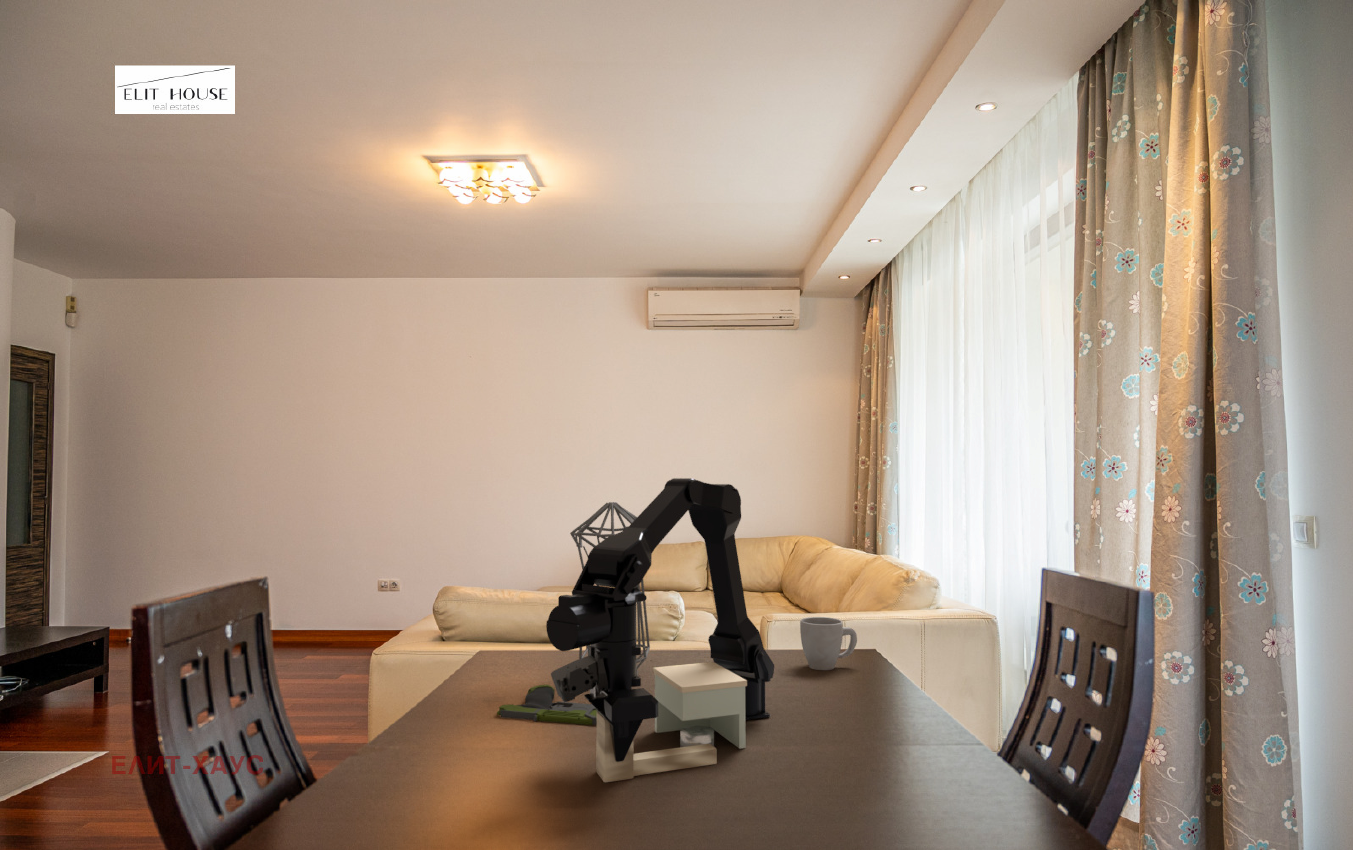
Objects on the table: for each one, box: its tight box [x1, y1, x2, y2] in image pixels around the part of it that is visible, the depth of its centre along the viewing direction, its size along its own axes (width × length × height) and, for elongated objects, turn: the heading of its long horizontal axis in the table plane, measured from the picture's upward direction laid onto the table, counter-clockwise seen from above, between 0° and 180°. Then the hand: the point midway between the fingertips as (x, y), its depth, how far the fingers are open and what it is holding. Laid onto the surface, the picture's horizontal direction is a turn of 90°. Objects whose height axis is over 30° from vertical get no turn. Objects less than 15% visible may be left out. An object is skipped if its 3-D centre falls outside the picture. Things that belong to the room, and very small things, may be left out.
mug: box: [799, 616, 858, 671], centre depth 163 cm, size 12×9×10 cm
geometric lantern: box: [570, 501, 651, 677], centre depth 156 cm, size 16×16×35 cm
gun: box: [496, 684, 597, 726], centre depth 134 cm, size 2×19×15 cm
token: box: [679, 725, 715, 748], centre depth 115 cm, size 5×5×2 cm
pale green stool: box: [652, 661, 747, 750], centre depth 119 cm, size 10×12×10 cm
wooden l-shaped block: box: [595, 711, 718, 783], centre depth 107 cm, size 16×4×8 cm, turn 111°
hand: (614, 755), depth 104 cm, fingers closed on wooden l-shaped block, 4 cm apart
